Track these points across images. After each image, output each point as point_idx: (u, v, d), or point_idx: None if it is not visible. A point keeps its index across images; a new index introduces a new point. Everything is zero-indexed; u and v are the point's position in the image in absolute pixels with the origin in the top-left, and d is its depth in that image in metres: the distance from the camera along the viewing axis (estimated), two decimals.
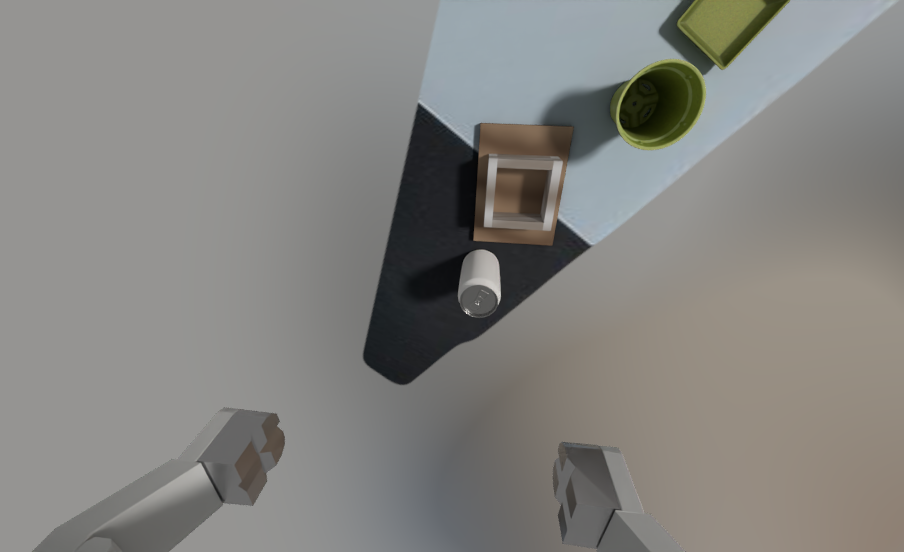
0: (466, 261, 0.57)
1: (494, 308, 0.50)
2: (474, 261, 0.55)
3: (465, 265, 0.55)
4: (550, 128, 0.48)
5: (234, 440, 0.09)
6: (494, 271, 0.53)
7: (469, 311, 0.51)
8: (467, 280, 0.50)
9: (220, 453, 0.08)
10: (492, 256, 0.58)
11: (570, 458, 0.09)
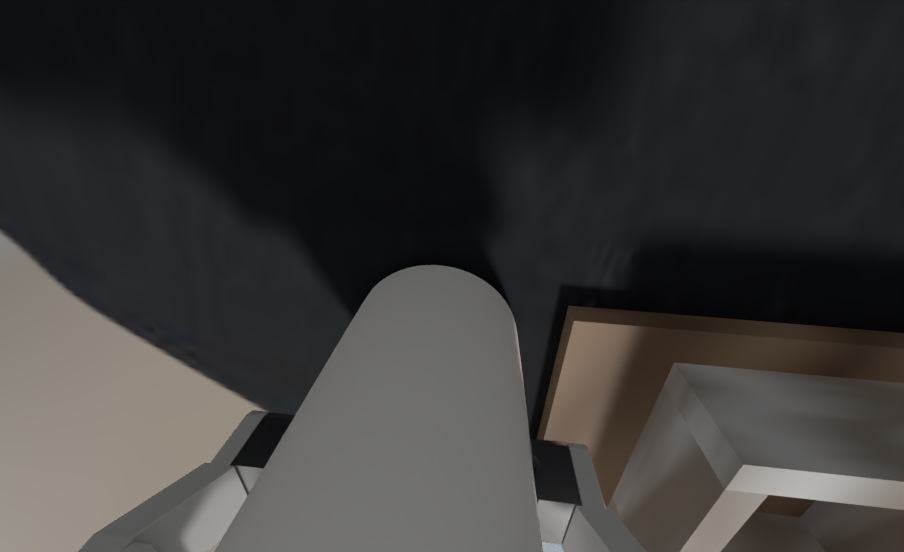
0: (495, 334, 0.10)
1: None
2: (525, 411, 0.09)
3: (496, 369, 0.09)
4: None
5: (266, 443, 0.09)
6: None
7: None
8: None
9: (253, 457, 0.08)
10: None
11: (536, 454, 0.09)
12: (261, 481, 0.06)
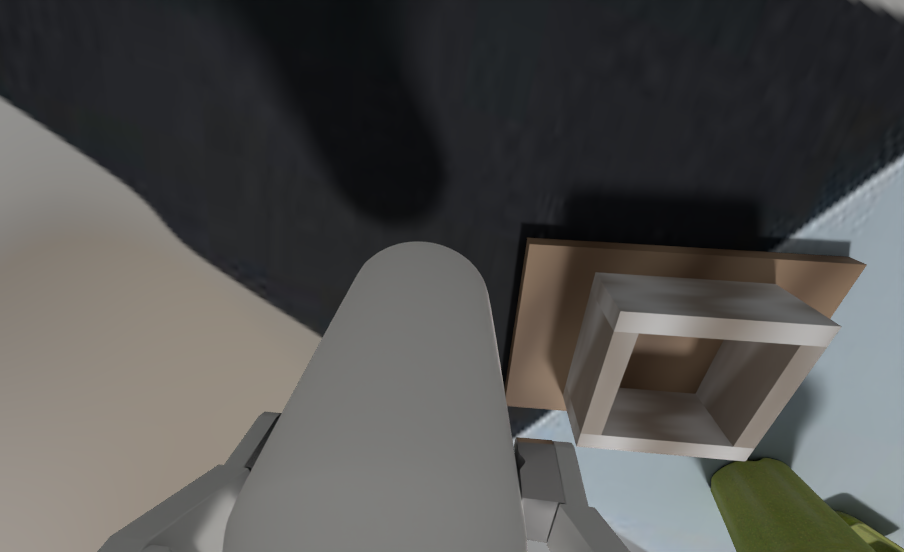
0: (469, 290, 0.13)
1: None
2: (496, 347, 0.12)
3: (471, 313, 0.11)
4: None
5: None
6: None
7: None
8: (503, 506, 0.06)
9: None
10: None
11: (522, 453, 0.09)
12: (296, 392, 0.09)
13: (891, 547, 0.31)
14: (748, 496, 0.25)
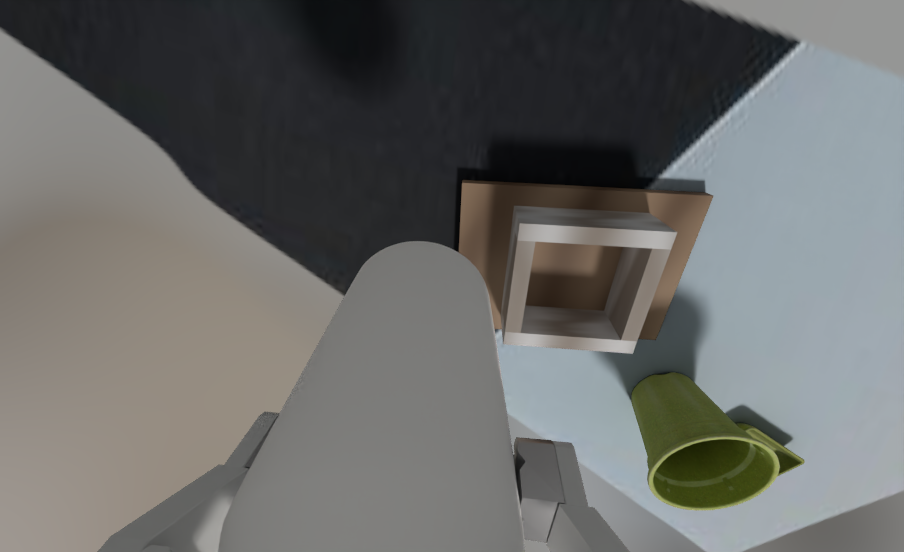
0: (469, 291, 0.13)
1: None
2: (495, 348, 0.12)
3: (470, 314, 0.11)
4: (663, 310, 0.29)
5: None
6: None
7: None
8: (500, 510, 0.06)
9: None
10: None
11: (521, 453, 0.09)
12: (294, 393, 0.08)
13: (786, 454, 0.37)
14: (653, 398, 0.31)
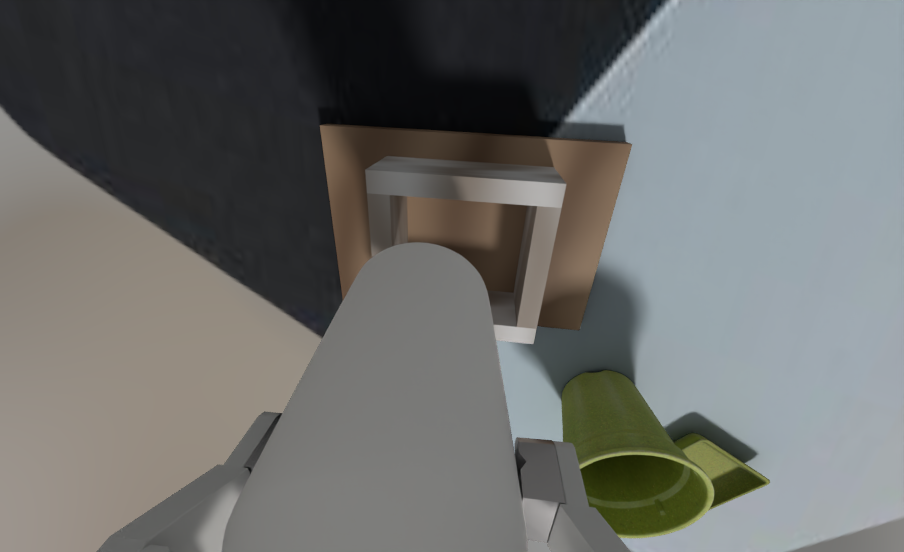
0: (469, 291, 0.13)
1: None
2: (496, 348, 0.12)
3: (471, 314, 0.11)
4: (585, 293, 0.24)
5: None
6: None
7: None
8: (503, 510, 0.06)
9: None
10: None
11: (522, 453, 0.09)
12: (295, 395, 0.08)
13: (749, 472, 0.31)
14: (577, 400, 0.26)
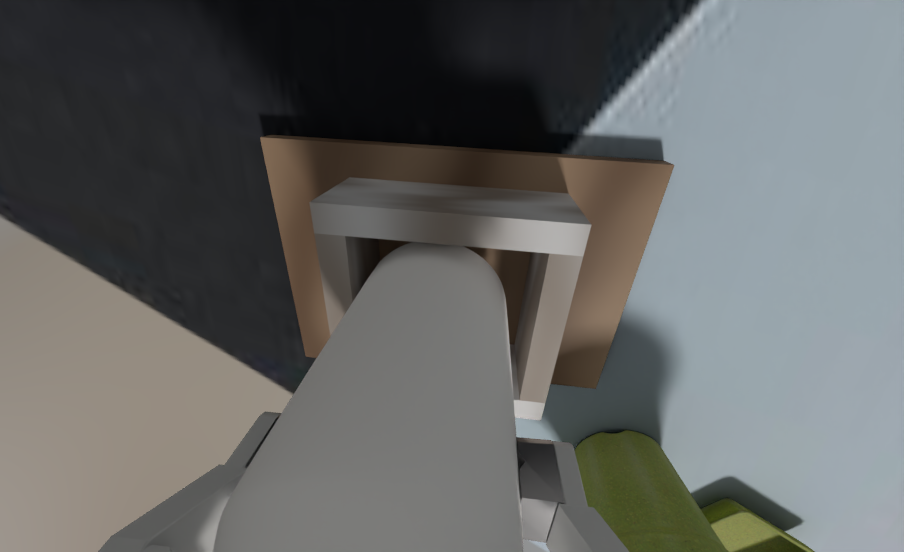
0: (482, 292, 0.12)
1: None
2: (507, 352, 0.11)
3: (481, 316, 0.11)
4: (604, 347, 0.19)
5: None
6: None
7: None
8: (495, 529, 0.06)
9: None
10: None
11: (521, 453, 0.09)
12: (297, 392, 0.08)
13: (793, 543, 0.26)
14: (593, 472, 0.21)
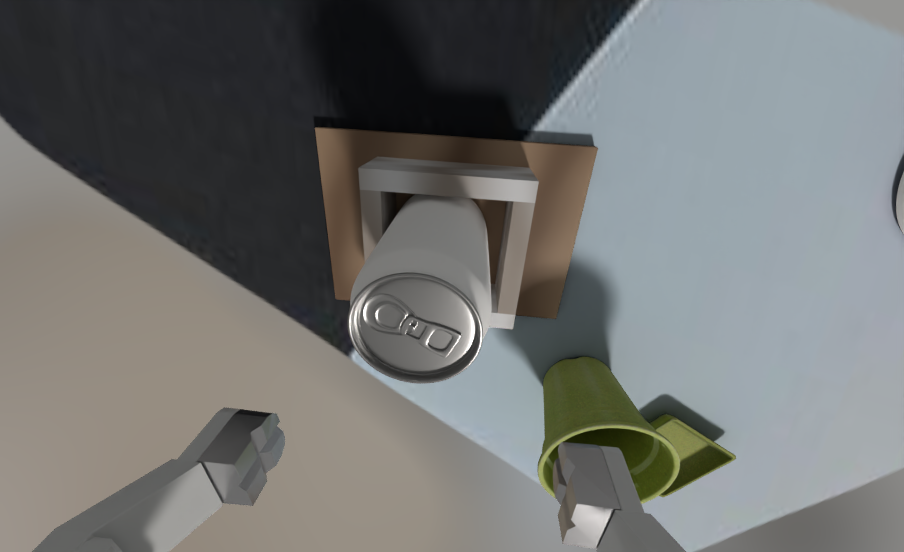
0: (472, 212, 0.21)
1: (393, 372, 0.15)
2: (486, 243, 0.20)
3: (471, 220, 0.19)
4: (560, 284, 0.26)
5: (234, 440, 0.09)
6: None
7: (364, 300, 0.14)
8: (478, 277, 0.14)
9: (220, 453, 0.08)
10: None
11: (570, 458, 0.09)
12: (378, 243, 0.17)
13: (717, 450, 0.33)
14: (557, 385, 0.28)
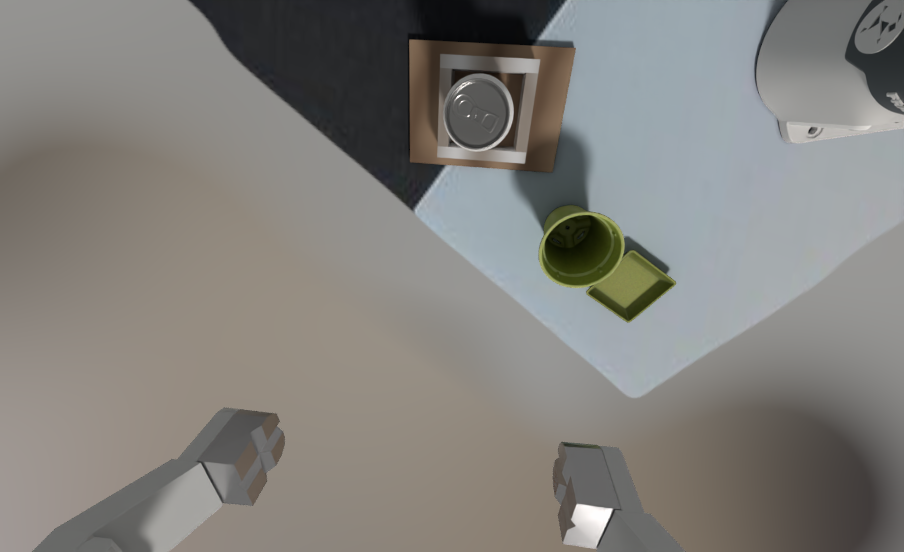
0: None
1: (464, 144, 0.31)
2: None
3: None
4: (554, 145, 0.41)
5: (234, 440, 0.09)
6: None
7: (454, 98, 0.29)
8: (507, 90, 0.30)
9: (220, 453, 0.08)
10: None
11: (570, 458, 0.09)
12: None
13: (665, 281, 0.48)
14: (552, 217, 0.43)
